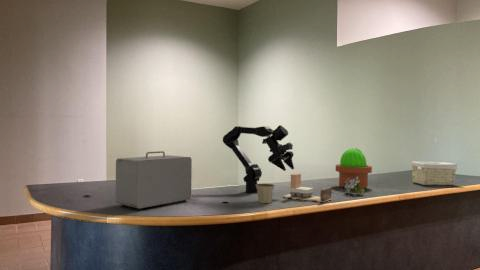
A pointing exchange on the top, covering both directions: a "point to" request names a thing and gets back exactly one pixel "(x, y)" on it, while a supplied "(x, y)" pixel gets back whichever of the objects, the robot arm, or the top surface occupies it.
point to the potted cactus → (353, 168)
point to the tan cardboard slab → (323, 197)
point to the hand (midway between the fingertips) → (289, 169)
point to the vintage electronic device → (152, 180)
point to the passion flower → (354, 186)
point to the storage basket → (434, 173)
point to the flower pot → (265, 192)
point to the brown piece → (299, 187)
